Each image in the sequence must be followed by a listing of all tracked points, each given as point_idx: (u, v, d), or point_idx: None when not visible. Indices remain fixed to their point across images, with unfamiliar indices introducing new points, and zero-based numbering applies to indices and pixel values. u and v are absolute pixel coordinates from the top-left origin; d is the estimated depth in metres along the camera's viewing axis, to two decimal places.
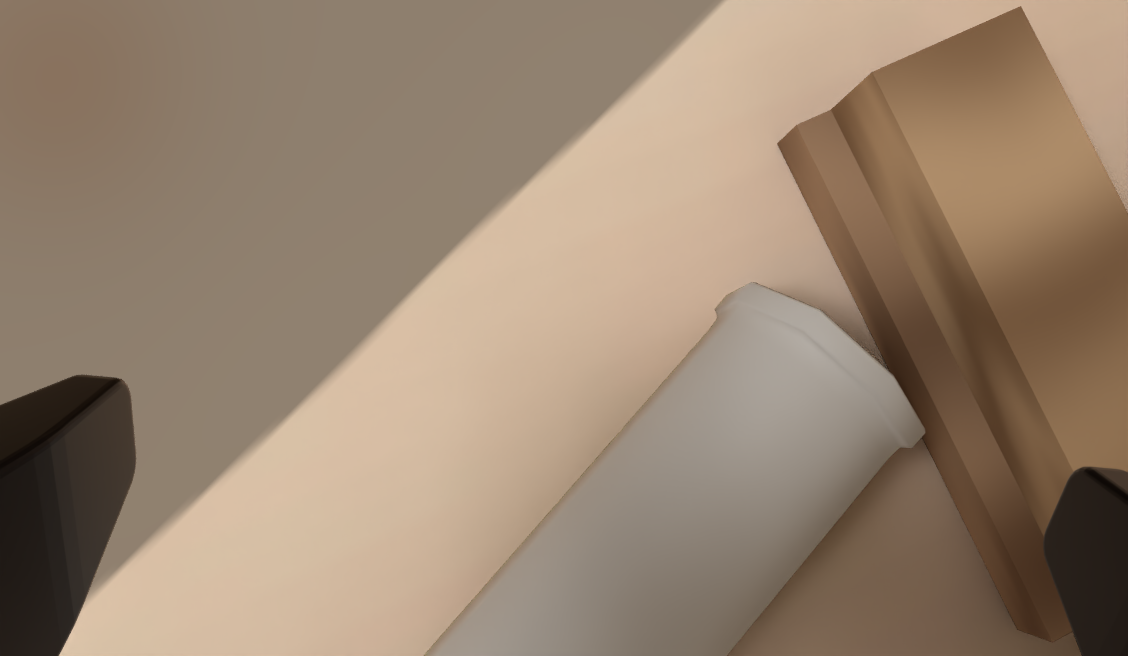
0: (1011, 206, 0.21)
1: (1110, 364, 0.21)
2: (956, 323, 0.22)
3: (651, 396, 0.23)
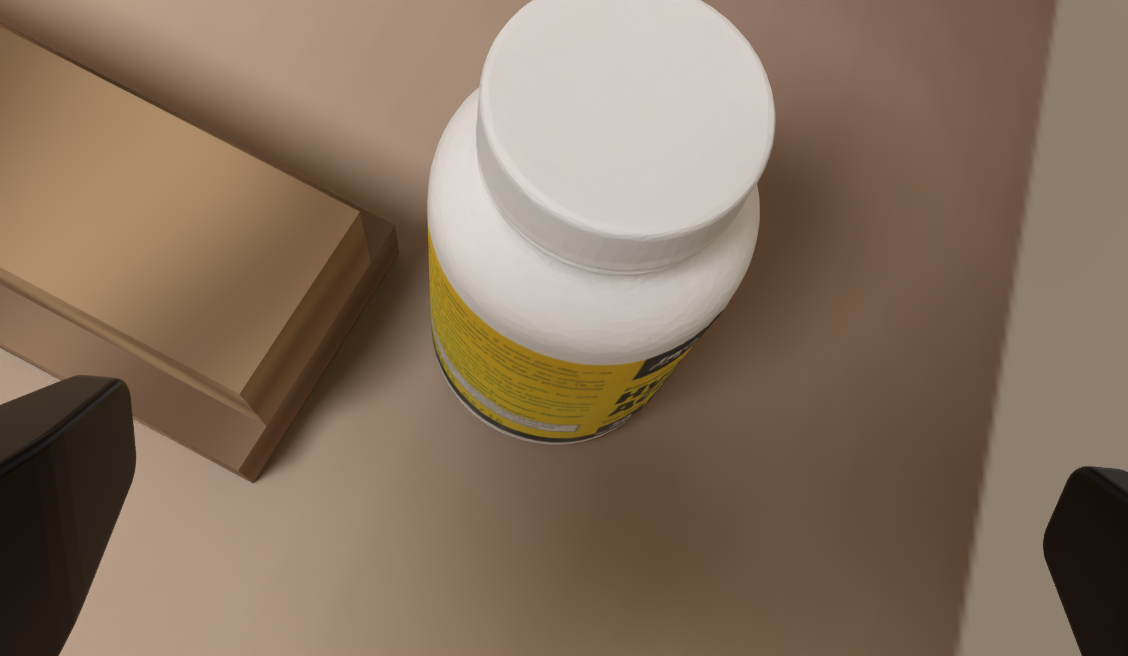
0: None
1: (21, 156, 0.17)
2: None
3: None
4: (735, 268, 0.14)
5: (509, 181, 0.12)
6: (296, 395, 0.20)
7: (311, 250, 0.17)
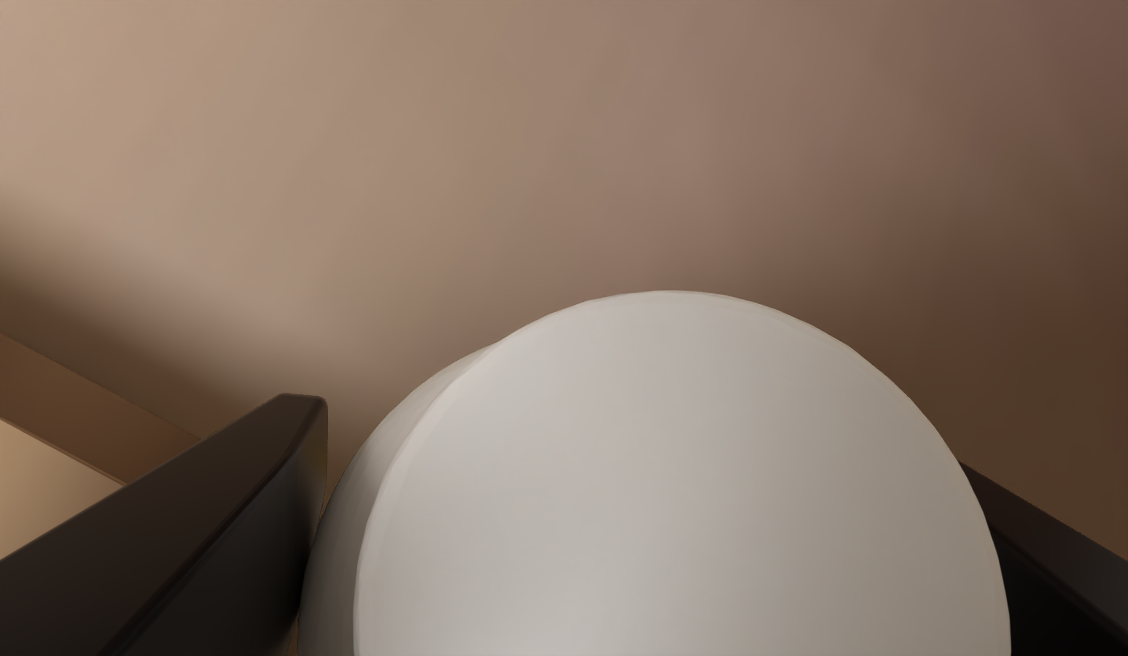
0: None
1: None
2: None
3: None
4: None
5: None
6: None
7: None
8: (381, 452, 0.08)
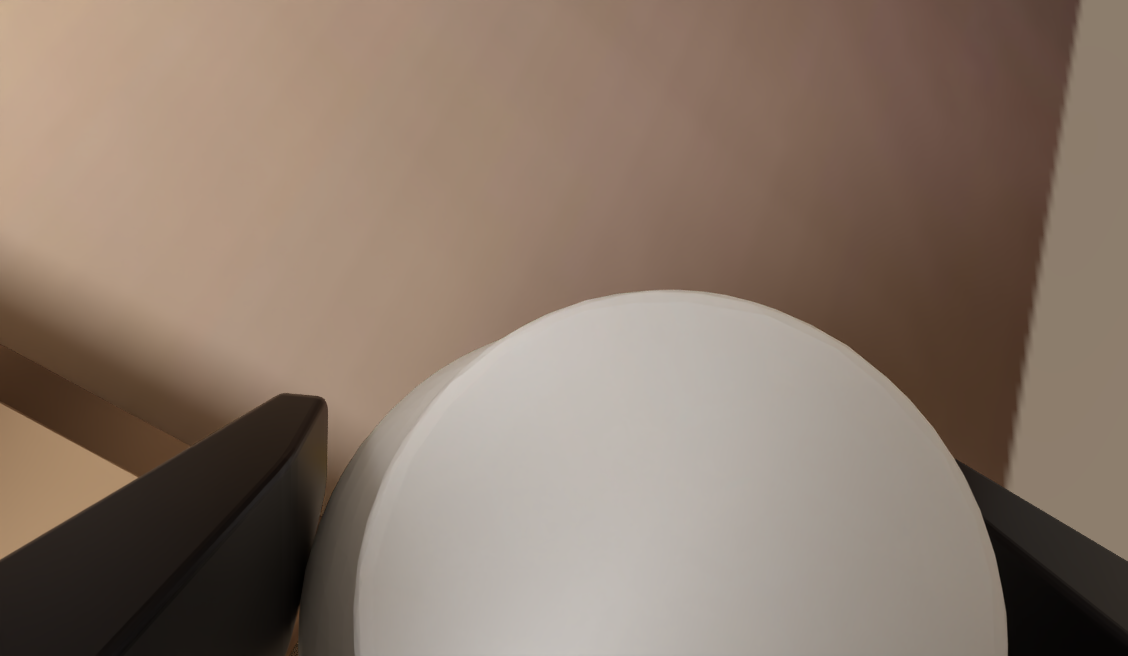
0: None
1: None
2: None
3: None
4: None
5: None
6: None
7: None
8: (381, 450, 0.08)
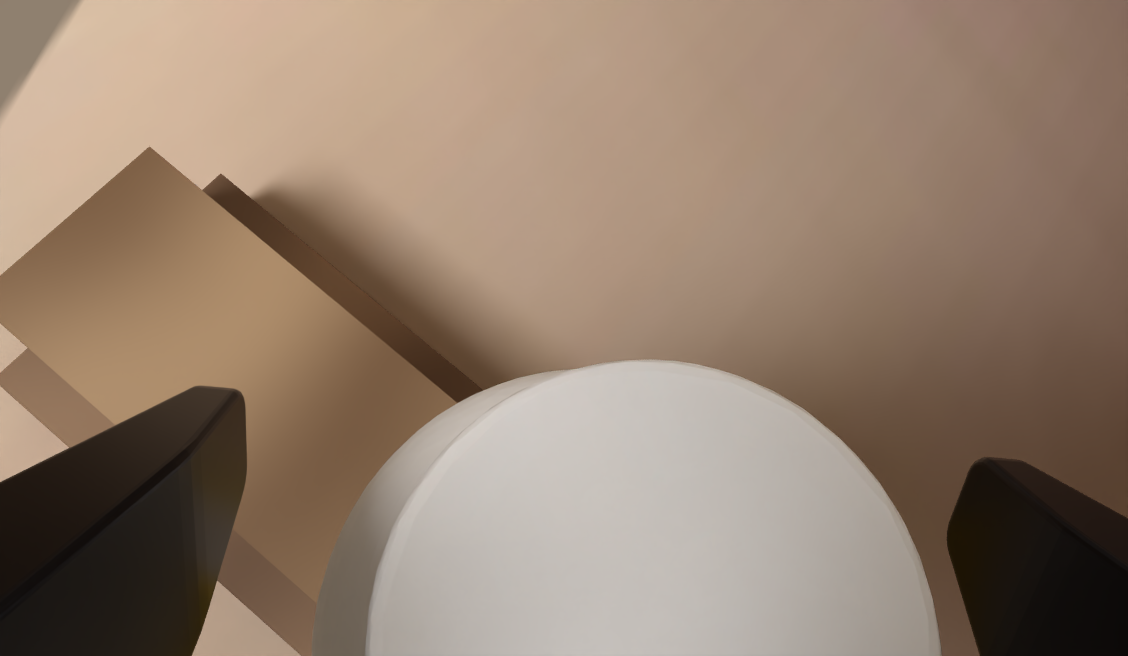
0: (210, 382, 0.16)
1: None
2: None
3: None
4: None
5: None
6: None
7: None
8: (386, 492, 0.09)
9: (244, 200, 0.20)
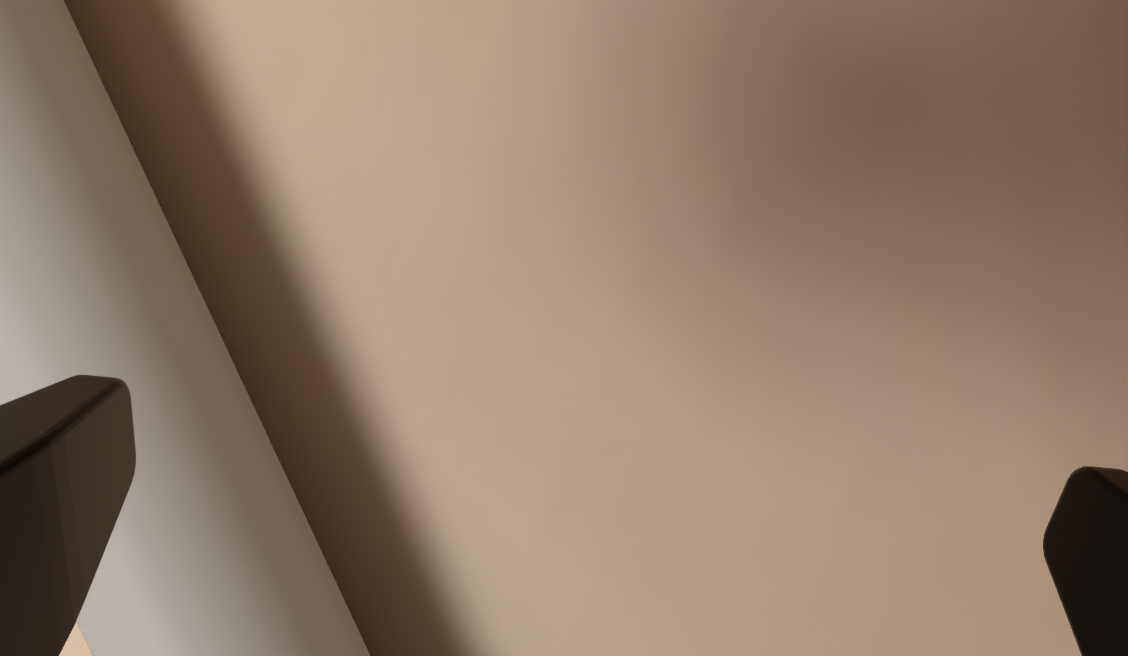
0: None
1: None
2: None
3: None
4: None
5: None
6: None
7: None
8: None
9: None
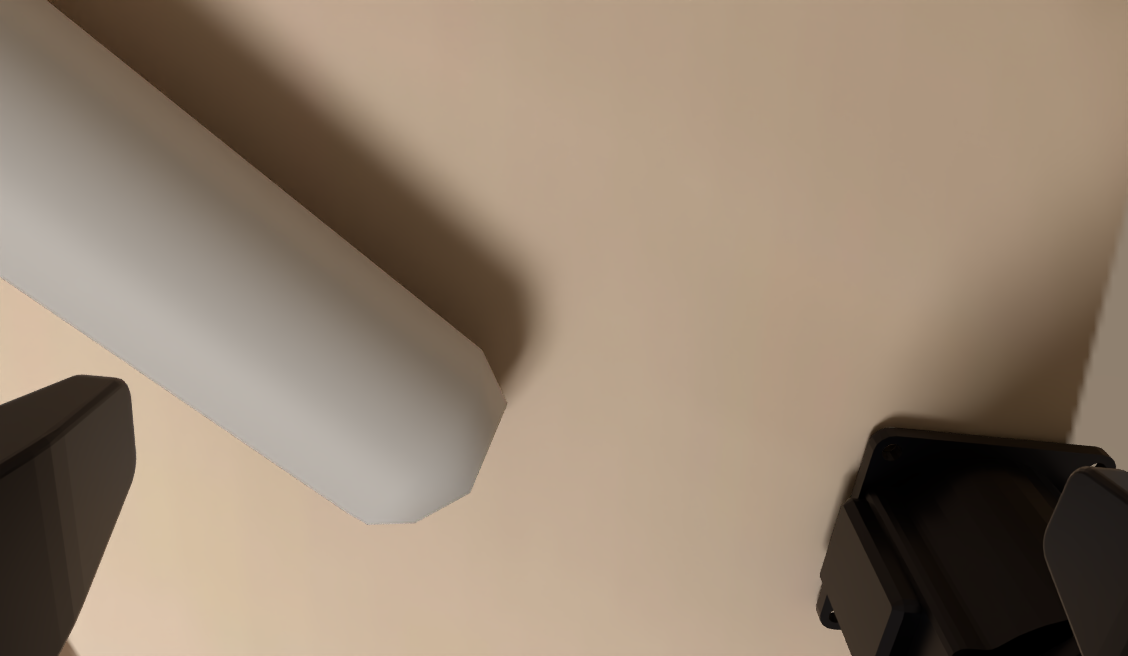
0: None
1: None
2: None
3: None
4: None
5: None
6: None
7: None
8: None
9: None
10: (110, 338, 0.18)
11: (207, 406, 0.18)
